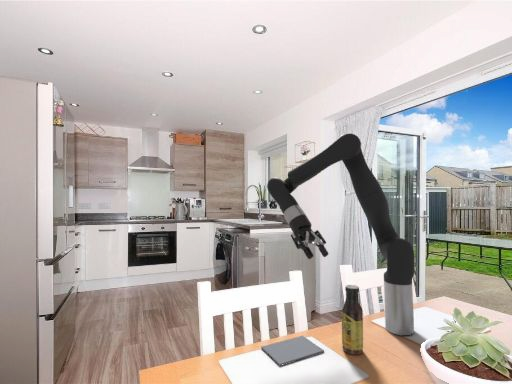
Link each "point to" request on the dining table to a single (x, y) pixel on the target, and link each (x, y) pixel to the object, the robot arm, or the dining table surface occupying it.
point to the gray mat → (292, 350)
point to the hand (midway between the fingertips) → (319, 256)
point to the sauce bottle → (352, 322)
